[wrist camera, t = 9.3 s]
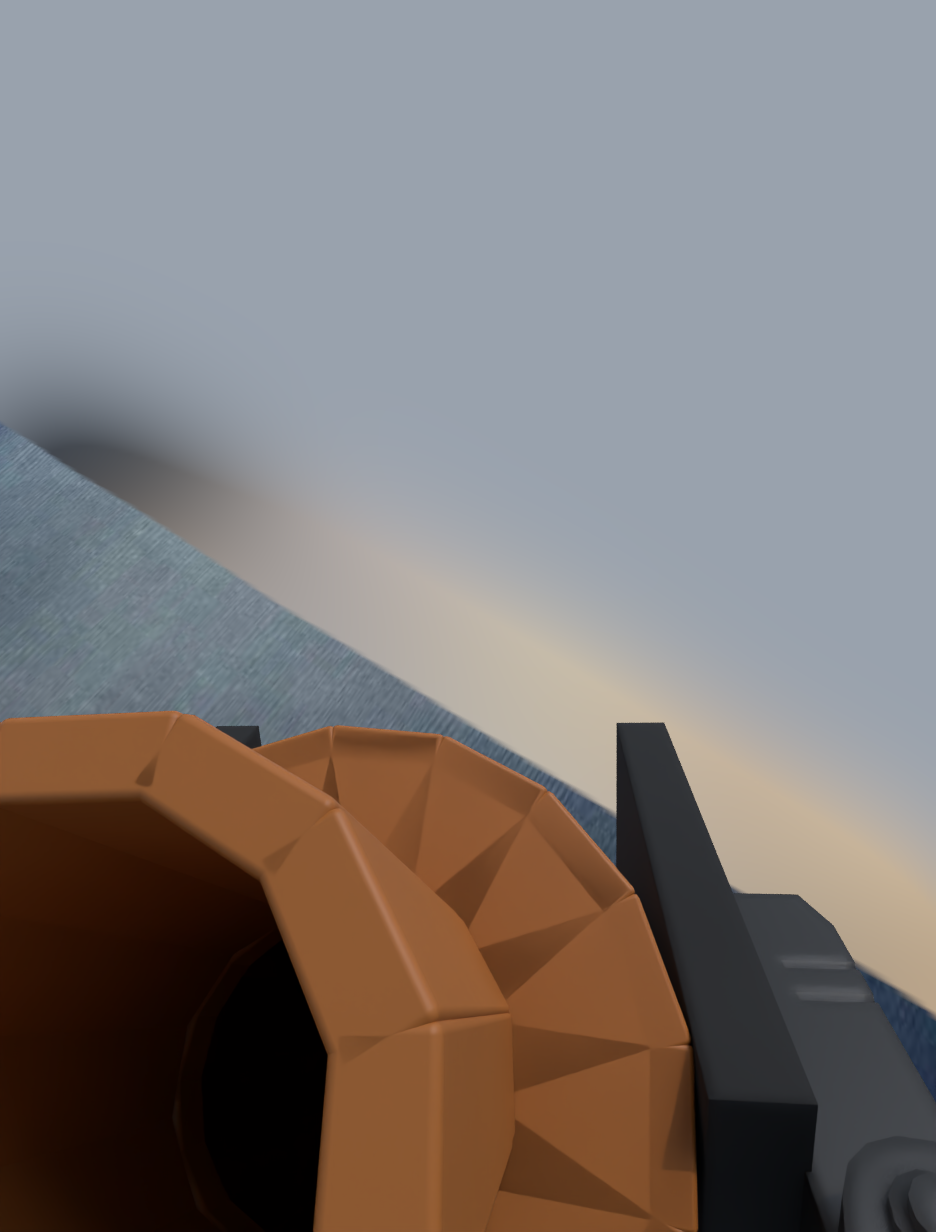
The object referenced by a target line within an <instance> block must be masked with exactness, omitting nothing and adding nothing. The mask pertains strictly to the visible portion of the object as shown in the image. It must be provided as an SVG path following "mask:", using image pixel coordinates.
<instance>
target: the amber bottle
mask: <svg viewBox="0 0 936 1232" xmlns="http://www.w3.org/2000/svg"><path fill="white" fill-rule="evenodd" d="M634 893H635V891H634V888H633V887H632V885H631V884H630V883H629V882H628V881H627V880H626V878H625V877H624V876H623V875H622V874H621V873H620V871H619V870H618V869H617V868H616V867H615V866H614V864H613V863H612V862H611V861H610V860H609V859H608V857H607V856H606V855H605V854H604V853H603V852H602V850H601V849H600V848H599V847H598V846H597V845H596V843H595V842H594V841H593V840H592V839H591V838H590V836H589V835H588V834H587V833H586V832H585V831H584V829H583V828H582V827H581V826H580V825H579V824H578V822H577V821H576V820H575V819H574V818H573V816H572V815H571V814H570V813H569V812H568V811H567V809H566V808H565V807H564V806H563V805H562V804H561V802H560V801H559V800H558V799H557V798H556V797H555V795H554V794H553V793H551V792H549V791H548V792H547V789H546V788H545V787H544V786H542V785H540V784H538V783H536V782H534V781H532V780H530V779H529V778H527V777H525V776H523V775H521V774H519V773H517V772H515V771H513V770H511V769H509V768H507V767H506V766H504V765H502V764H500V763H498V762H496V761H494V760H492V759H490V758H488V757H486V756H484V755H483V754H481V753H479V752H477V751H475V750H473V749H471V748H469V747H467V746H465V745H463V744H461V743H459V742H458V741H456V740H454V739H452V738H450V737H446V736H445V737H443V736H442V735H440V734H431V733H420V732H408V731H397V730H385V729H374V728H362V727H351V726H339V725H337V726H334V727H332V726H328V727H325V728H321V729H318V730H315V731H311V732H308V733H304V734H301V735H298V736H294V737H291V738H287V739H284V740H281V741H277V742H274V743H270V744H267V745H264V746H260V747H257V748H253V749H250V748H249V747H247V746H245V745H244V744H242V743H240V742H239V741H237V740H235V739H234V738H232V737H230V736H229V735H227V734H225V733H224V732H222V731H220V730H219V729H217V728H215V727H213V726H212V725H210V724H208V723H207V722H205V721H203V720H202V719H200V718H198V717H197V716H195V715H188V714H182V713H180V712H177V711H159V712H137V713H115V714H93V715H71V716H48V717H26V718H8V719H6V720H4V721H3V722H2V723H1V722H0V1232H697V1231H698V1197H697V1155H696V1112H695V1070H694V1052H693V1047H692V1046H691V1045H690V1044H691V1035H690V1033H689V1030H688V1027H687V1025H686V1022H685V1019H684V1017H683V1014H682V1011H681V1008H680V1006H679V1003H678V1000H677V998H676V995H675V992H674V990H673V987H672V984H671V982H670V979H669V976H668V973H667V971H666V968H665V965H664V963H663V960H662V957H661V955H660V952H659V949H658V947H657V944H656V941H655V938H654V936H653V933H652V930H651V928H650V925H649V922H648V920H647V917H646V914H645V912H644V909H643V906H642V903H641V901H640V898H639V897H638V896H637V894H634Z"/></svg>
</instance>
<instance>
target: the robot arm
mask: <svg viewBox="0 0 936 1232" xmlns="http://www.w3.org/2000/svg"><path fill="white" fill-rule="evenodd" d="M216 728H217V729H219V730H220V731H222V732H224V733H225V734H227V735H229V736H230V737H232V738H234V739H235V740H237V741H239V742H240V743H242V744H244V745H245V746H247V747H249V748H250V749H253V748H257V747H260V746H261V740H260V733H259V726H217V727H216ZM616 867H617V869H618V870H619V871H620V873H621V874H622V875H623V876H624V877H625V878H626V880H627V881H628V882H629V883H630V884H631V885H632V887H633V888H634V891H635V893H634V894H637V896H638V897H639V898H640V901H641V903H642V906H643V909H644V912H645V914H646V917H647V920H648V922H649V925H650V928H651V930H652V933H653V936H654V938H655V941H656V944H657V947H658V949H659V952H660V955H661V957H662V960H663V963H664V965H665V968H666V971H667V973H668V976H669V979H670V982H671V984H672V987H673V990H674V992H675V995H676V998H677V1000H678V1003H679V1006H680V1008H681V1011H682V1014H683V1017H684V1019H685V1022H686V1025H687V1027H688V1030H689V1033H690V1035H691V1044H690V1045H691V1046H692V1047H693V1052H694V1070H695V1112H696V1155H697V1197H698V1231H697V1232H936V1102H935V1101H934V1099H933V1097H932V1095H931V1094H930V1092H929V1090H928V1089H927V1087H926V1085H925V1083H924V1082H923V1080H922V1078H921V1076H920V1075H919V1073H918V1071H917V1069H916V1068H915V1066H914V1064H913V1063H912V1061H911V1059H910V1057H909V1056H908V1054H907V1052H906V1050H905V1049H904V1047H903V1045H902V1043H901V1042H900V1040H899V1038H898V1037H897V1035H896V1033H895V1031H894V1030H893V1028H892V1026H891V1024H890V1023H889V1021H888V1019H887V1018H886V1016H885V1014H884V1012H883V1011H882V1009H881V1007H880V1005H879V1004H878V1003H875V1002H874V998H873V993H872V992H871V990H870V988H869V986H868V985H867V983H866V981H865V979H864V978H863V976H862V974H861V972H860V971H859V970H856V968H855V962H854V960H853V959H852V957H851V955H850V953H849V952H848V950H847V948H846V947H845V945H844V943H843V941H842V940H841V938H840V936H839V934H838V933H837V931H836V929H835V927H834V926H833V925H832V924H831V923H830V922H829V921H828V920H826V919H825V918H824V917H823V916H822V915H821V914H819V913H818V912H817V911H816V910H815V909H814V908H812V907H811V906H810V905H809V904H808V903H807V902H806V901H804V900H803V899H802V898H801V897H800V896H798V895H791V894H741V893H733V892H732V890H731V887H730V885H729V882H728V880H727V877H726V875H725V872H724V870H723V868H722V865H721V863H720V860H719V858H718V855H717V853H716V850H715V848H714V845H713V843H712V841H711V838H710V835H709V833H708V830H707V828H706V826H705V823H704V820H703V818H702V816H701V813H700V811H699V808H698V806H697V803H696V801H695V798H694V796H693V793H692V791H691V788H690V786H689V783H688V781H687V778H686V776H685V773H684V771H683V769H682V766H681V763H680V761H679V759H678V756H677V754H676V751H675V749H674V746H673V744H672V741H671V739H670V736H669V734H668V731H667V729H666V726H665V724H664V723H617V852H616Z"/></svg>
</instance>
